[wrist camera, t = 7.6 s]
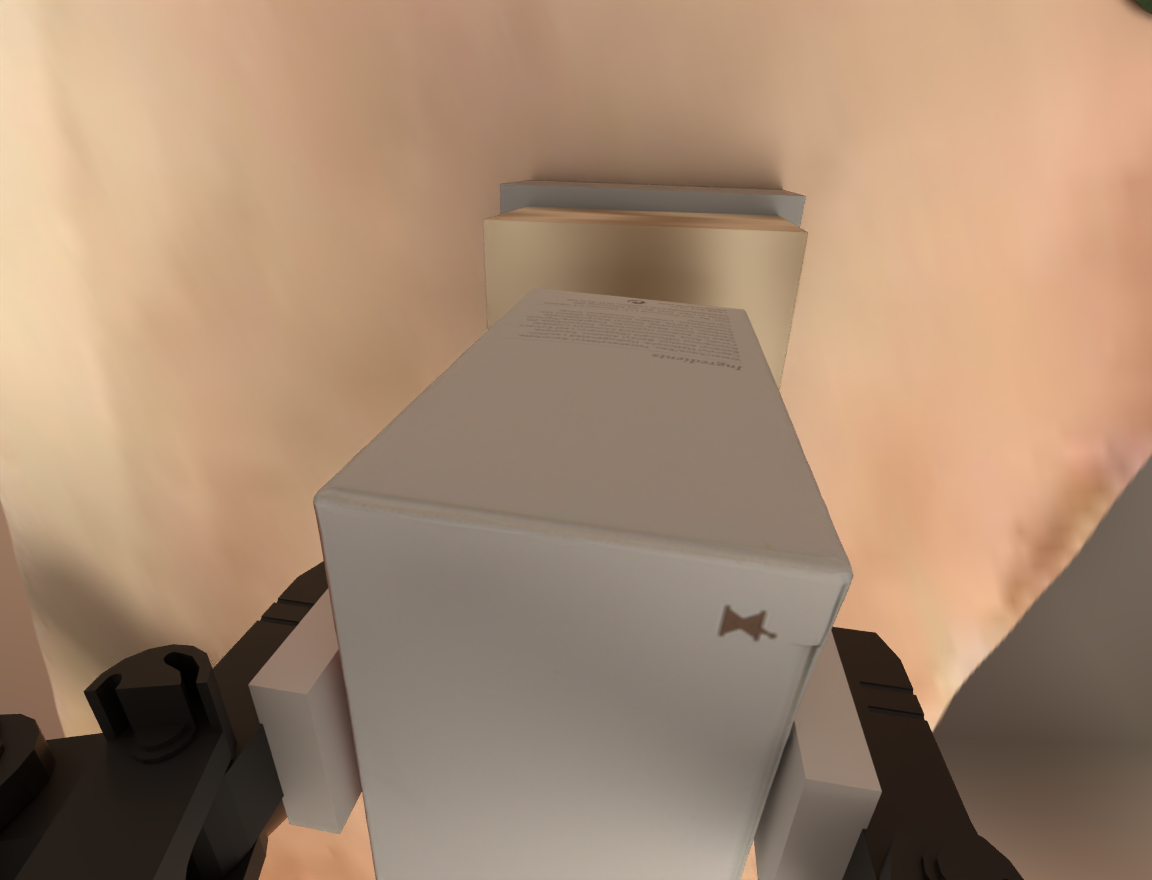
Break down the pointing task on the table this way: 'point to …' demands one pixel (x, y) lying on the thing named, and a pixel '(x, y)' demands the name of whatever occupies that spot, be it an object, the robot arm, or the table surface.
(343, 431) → the table surface
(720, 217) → the block top
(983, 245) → the table surface
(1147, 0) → the coffee jar
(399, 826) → the small box
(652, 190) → the block base
